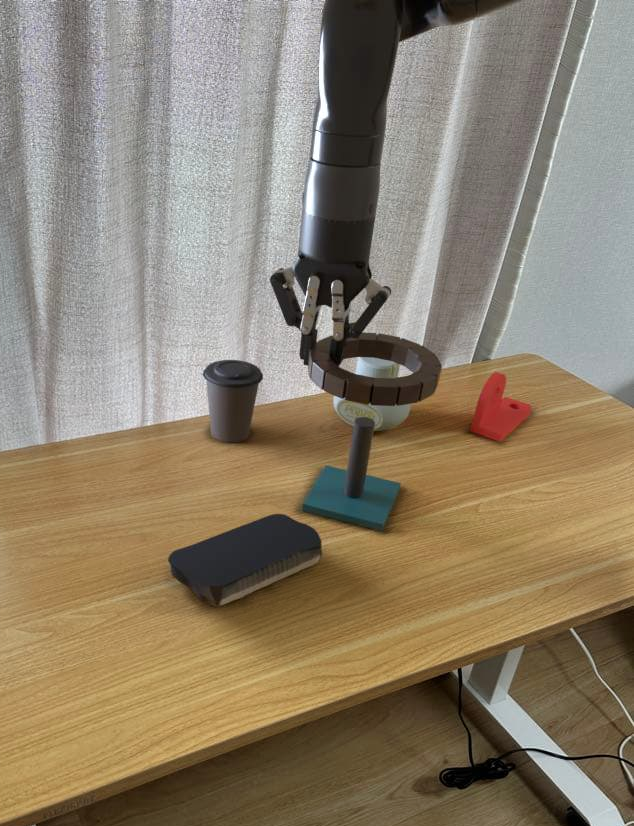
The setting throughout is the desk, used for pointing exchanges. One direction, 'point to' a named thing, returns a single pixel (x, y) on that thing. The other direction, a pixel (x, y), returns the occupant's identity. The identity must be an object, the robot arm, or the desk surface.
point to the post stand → (354, 486)
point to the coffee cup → (231, 398)
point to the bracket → (497, 410)
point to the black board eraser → (246, 558)
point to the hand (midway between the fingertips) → (320, 364)
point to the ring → (376, 389)
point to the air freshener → (380, 414)
